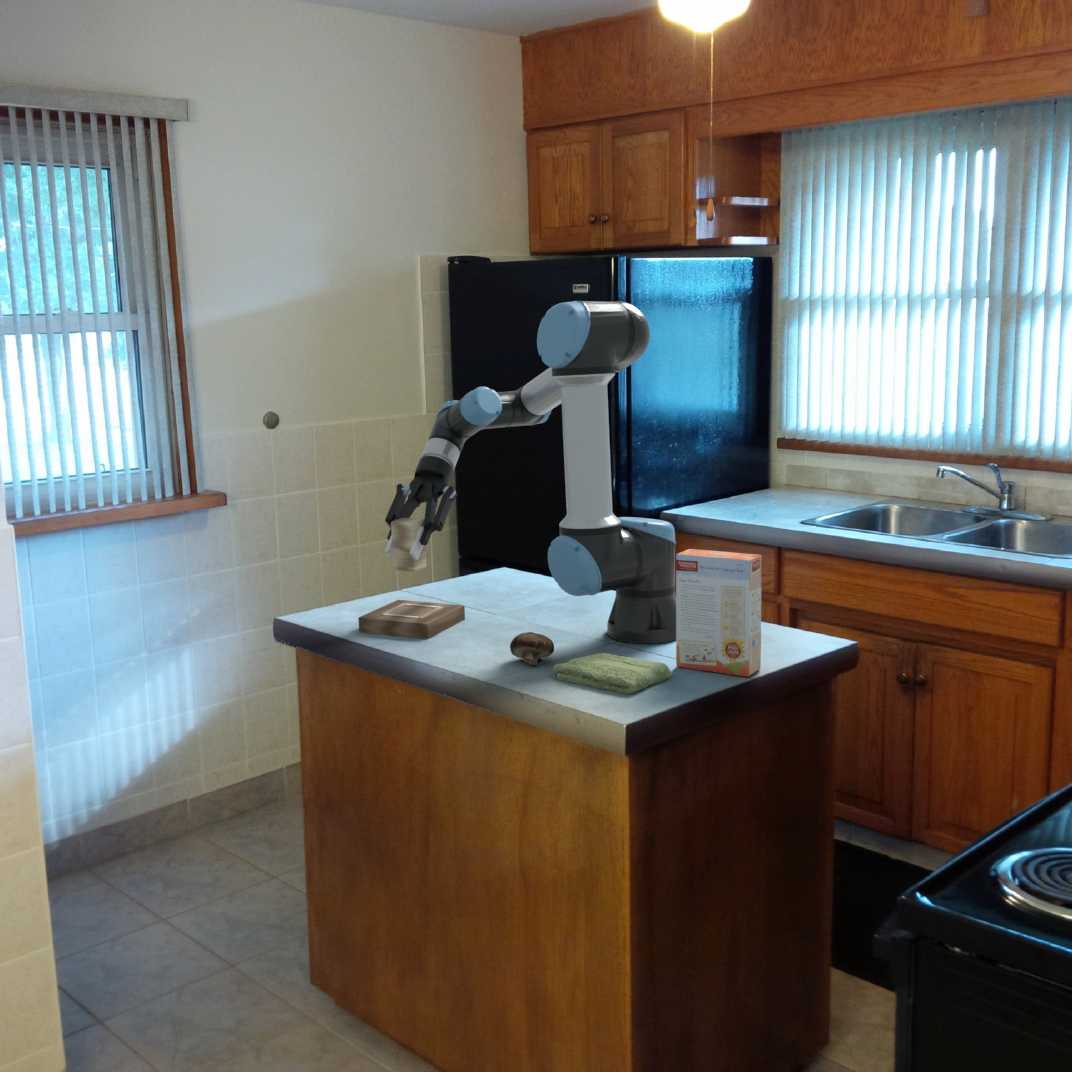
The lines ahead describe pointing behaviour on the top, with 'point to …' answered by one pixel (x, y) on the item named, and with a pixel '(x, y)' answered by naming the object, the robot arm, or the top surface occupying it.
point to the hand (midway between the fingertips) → (401, 555)
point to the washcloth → (613, 672)
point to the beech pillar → (406, 544)
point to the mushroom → (531, 647)
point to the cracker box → (718, 611)
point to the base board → (412, 619)
